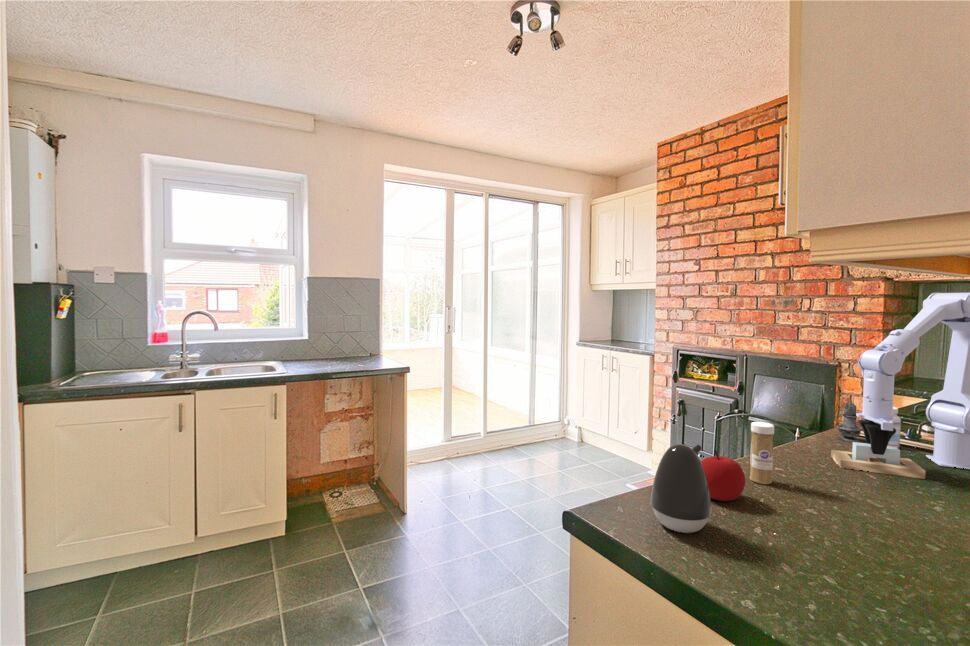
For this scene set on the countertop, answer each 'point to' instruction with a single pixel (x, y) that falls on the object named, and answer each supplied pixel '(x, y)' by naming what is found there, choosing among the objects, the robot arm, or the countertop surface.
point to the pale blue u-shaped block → (864, 451)
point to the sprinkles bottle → (761, 452)
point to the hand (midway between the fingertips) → (875, 451)
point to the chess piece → (849, 424)
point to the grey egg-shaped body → (681, 490)
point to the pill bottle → (897, 425)
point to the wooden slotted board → (878, 465)
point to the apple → (723, 477)
